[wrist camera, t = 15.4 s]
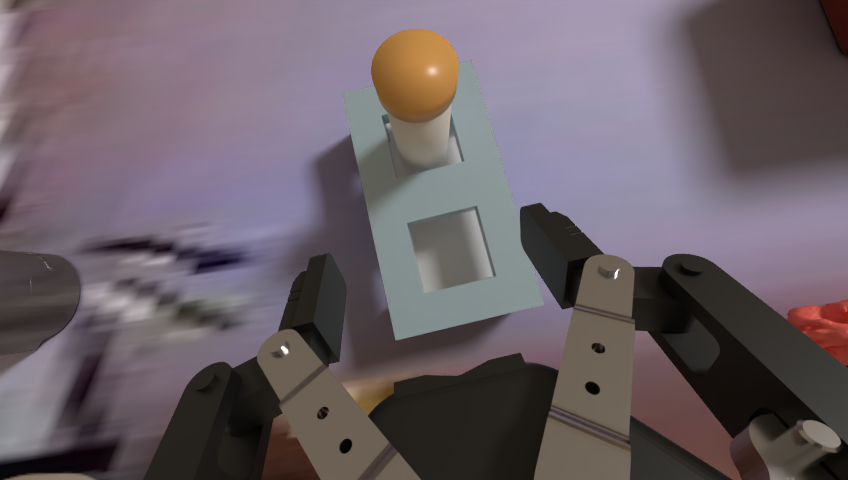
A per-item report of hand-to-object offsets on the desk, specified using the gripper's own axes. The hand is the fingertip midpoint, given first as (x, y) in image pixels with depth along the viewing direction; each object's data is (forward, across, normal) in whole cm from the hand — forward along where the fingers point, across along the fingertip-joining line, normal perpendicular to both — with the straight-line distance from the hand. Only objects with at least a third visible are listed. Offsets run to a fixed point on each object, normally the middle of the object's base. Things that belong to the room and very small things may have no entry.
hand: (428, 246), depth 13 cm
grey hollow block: (+17, -2, +9) cm, 19 cm away
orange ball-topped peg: (+20, -2, +4) cm, 20 cm away
